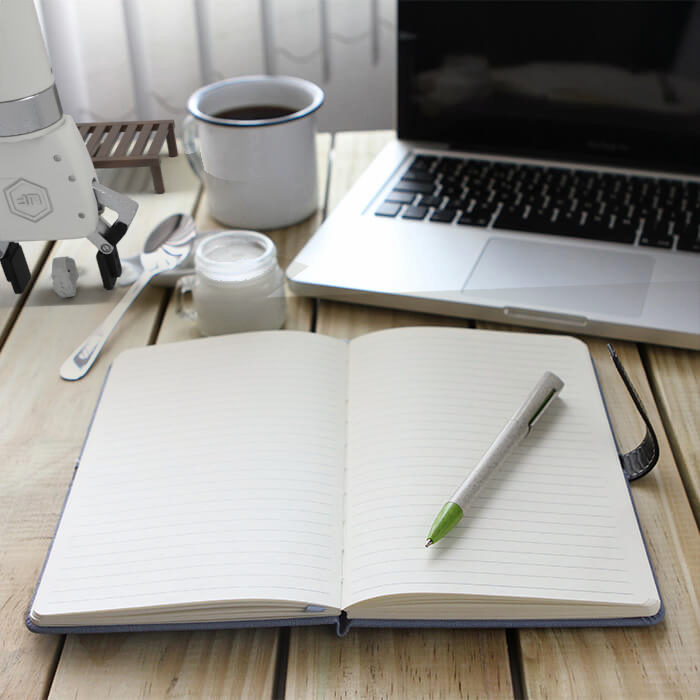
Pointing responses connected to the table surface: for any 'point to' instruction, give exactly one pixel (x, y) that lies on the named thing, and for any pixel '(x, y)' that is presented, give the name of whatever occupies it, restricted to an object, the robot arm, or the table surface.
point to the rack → (136, 156)
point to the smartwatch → (64, 276)
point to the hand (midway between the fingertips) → (67, 283)
